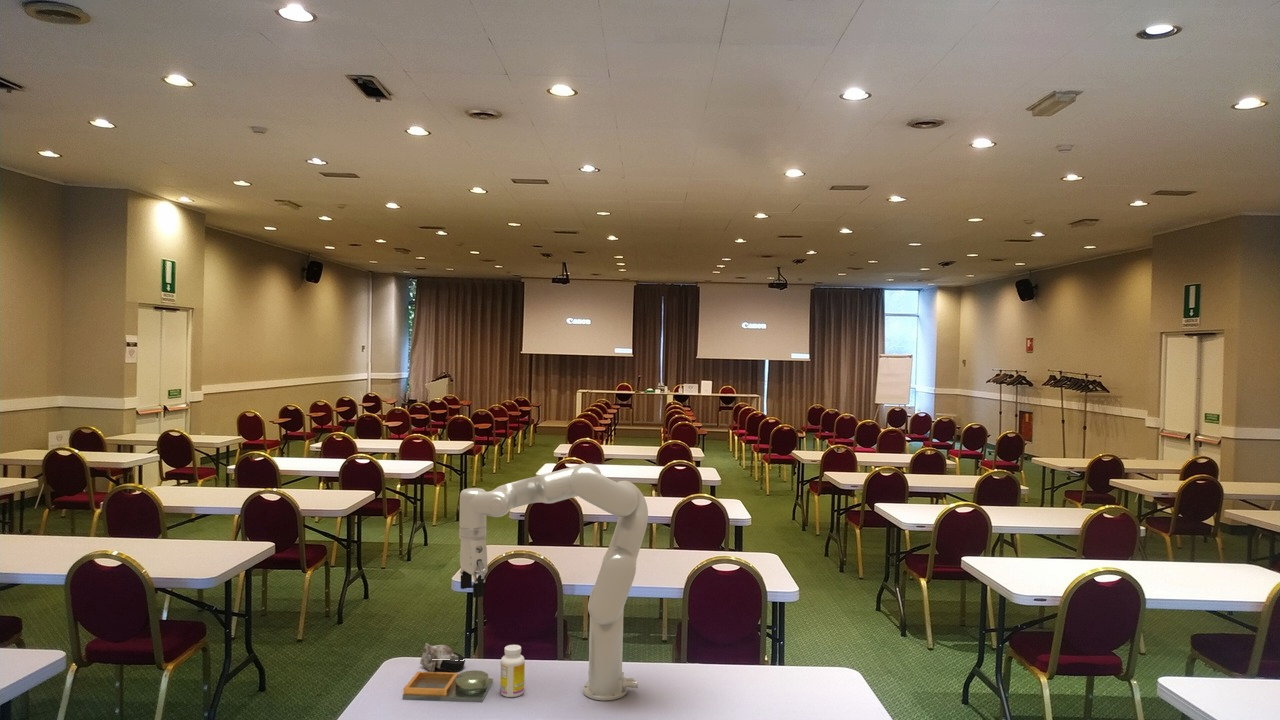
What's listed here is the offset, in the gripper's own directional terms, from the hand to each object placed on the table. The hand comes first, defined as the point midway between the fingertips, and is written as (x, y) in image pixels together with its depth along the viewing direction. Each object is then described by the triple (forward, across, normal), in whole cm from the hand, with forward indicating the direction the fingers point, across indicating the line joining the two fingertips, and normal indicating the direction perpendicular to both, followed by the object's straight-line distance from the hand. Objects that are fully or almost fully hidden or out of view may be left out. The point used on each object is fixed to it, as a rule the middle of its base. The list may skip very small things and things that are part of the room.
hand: (472, 592), depth 220 cm
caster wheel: (+28, +18, +1) cm, 33 cm away
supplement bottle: (+28, -9, -9) cm, 30 cm away
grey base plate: (+27, +2, +6) cm, 28 cm away
